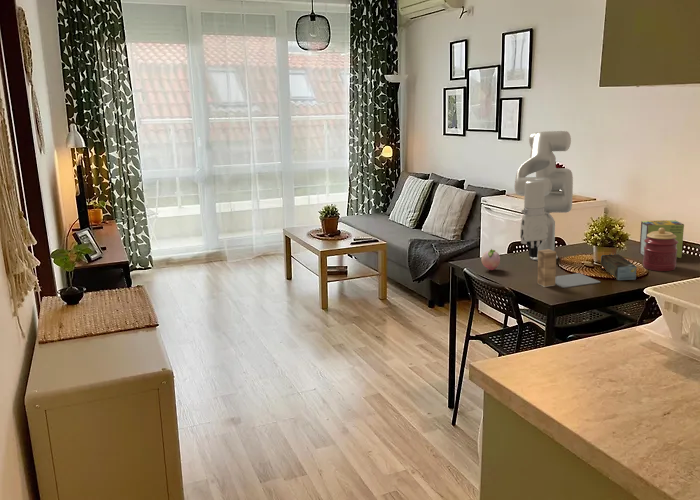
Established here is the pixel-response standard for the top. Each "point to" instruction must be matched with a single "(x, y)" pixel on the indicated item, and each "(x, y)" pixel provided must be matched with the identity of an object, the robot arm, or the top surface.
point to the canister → (660, 251)
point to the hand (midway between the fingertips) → (533, 256)
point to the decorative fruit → (491, 259)
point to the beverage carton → (619, 267)
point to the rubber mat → (574, 280)
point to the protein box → (669, 226)
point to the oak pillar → (546, 268)
